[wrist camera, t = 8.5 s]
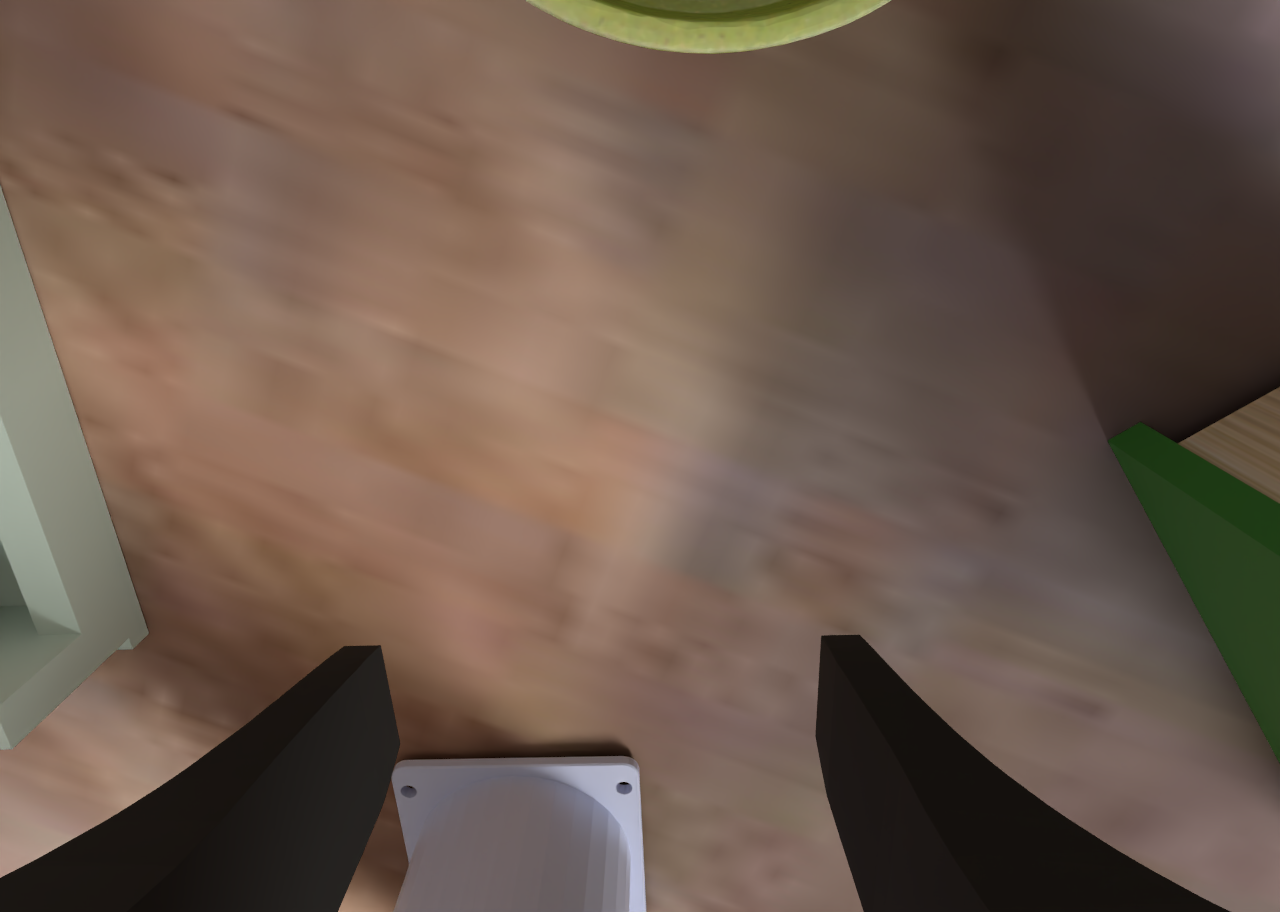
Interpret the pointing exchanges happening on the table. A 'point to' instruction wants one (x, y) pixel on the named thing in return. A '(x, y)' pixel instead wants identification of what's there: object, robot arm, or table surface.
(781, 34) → the plant pot
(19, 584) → the holder
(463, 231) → the table surface
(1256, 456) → the hardback book
